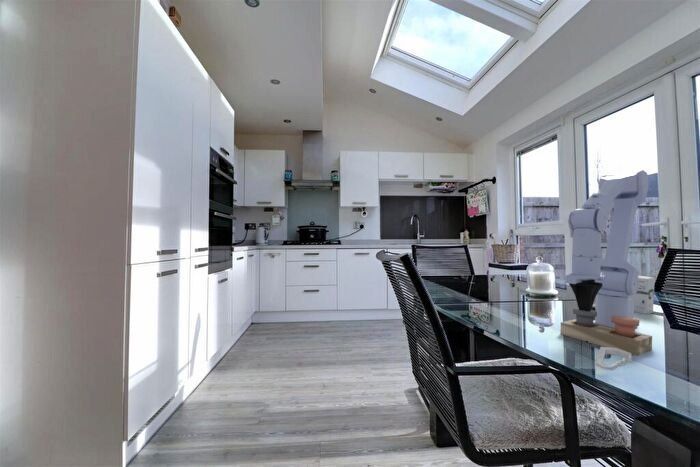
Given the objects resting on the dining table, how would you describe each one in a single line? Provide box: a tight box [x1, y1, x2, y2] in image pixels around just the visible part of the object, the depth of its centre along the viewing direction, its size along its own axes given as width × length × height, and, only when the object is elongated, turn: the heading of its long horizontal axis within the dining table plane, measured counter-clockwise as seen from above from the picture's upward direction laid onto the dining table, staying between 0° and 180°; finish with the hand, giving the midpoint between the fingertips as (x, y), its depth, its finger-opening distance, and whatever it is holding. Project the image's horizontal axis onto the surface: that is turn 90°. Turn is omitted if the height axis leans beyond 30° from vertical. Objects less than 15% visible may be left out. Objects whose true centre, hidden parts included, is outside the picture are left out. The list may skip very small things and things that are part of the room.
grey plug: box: [572, 307, 597, 327], centre depth 77 cm, size 5×5×4 cm
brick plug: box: [611, 316, 640, 337], centre depth 70 cm, size 5×5×4 cm
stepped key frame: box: [595, 346, 632, 371], centre depth 63 cm, size 13×5×2 cm, turn 137°
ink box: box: [630, 275, 656, 315], centre depth 105 cm, size 9×5×12 cm, turn 27°
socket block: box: [559, 318, 653, 357], centre depth 74 cm, size 8×15×3 cm, turn 28°
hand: (584, 310), depth 77 cm, fingers closed
